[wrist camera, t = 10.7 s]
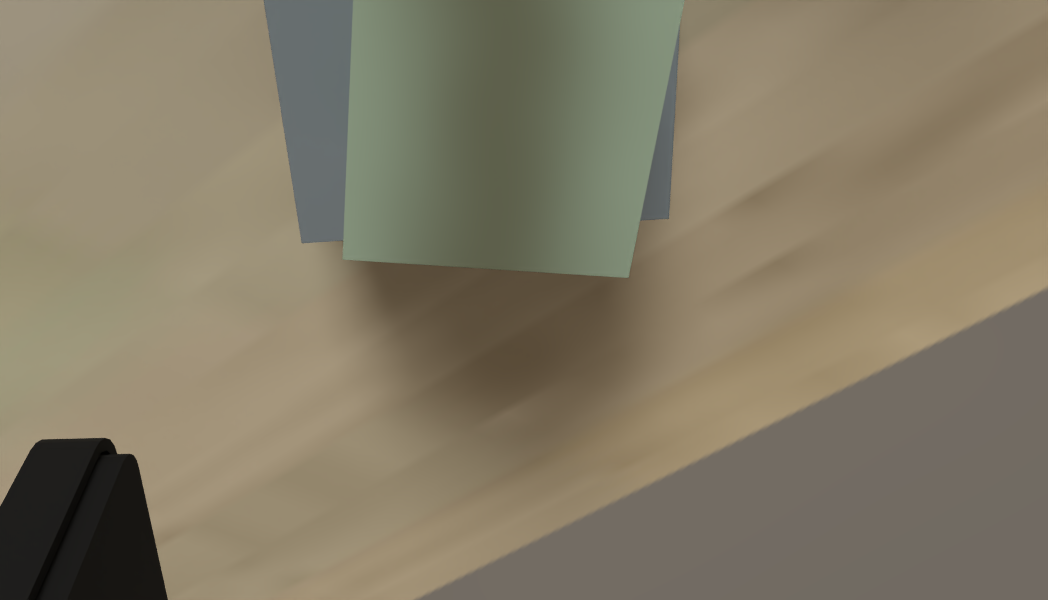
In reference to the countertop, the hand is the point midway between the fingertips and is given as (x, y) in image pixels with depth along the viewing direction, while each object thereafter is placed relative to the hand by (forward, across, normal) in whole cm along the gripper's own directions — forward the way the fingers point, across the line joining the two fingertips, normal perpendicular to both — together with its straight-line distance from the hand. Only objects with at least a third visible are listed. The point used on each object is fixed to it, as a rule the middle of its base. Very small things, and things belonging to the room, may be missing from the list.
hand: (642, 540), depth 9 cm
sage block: (+17, +1, 0) cm, 17 cm away
